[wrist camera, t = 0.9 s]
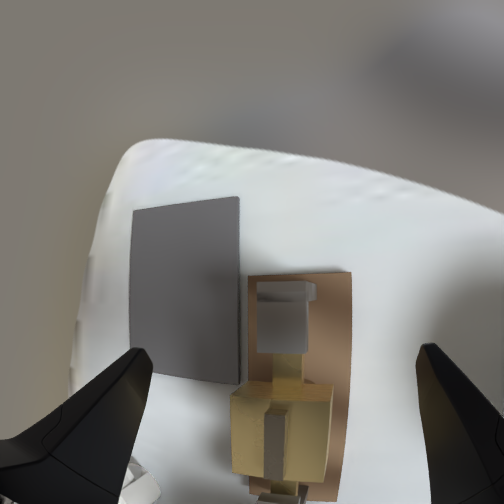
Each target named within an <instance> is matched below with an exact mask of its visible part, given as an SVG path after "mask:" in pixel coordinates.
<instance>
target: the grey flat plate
mask: <svg viewBox="0 0 504 504" xmlns="http://www.w3.org/2000/svg"><path fill="white" fill-rule="evenodd" d="M129 314H130V349H131V348H133V347H140V348H144V349H145V350H146V352H147V354H148V355H149V357H150V359H151V361H152V363H153V373H158V374H164V375H170V376H175V377H182V378H188V379H195V380H202V381H209V382H217V383H226V384H235V385H238V384H240V345H239V197H229V198H221V199H212V200H204V201H197V202H189V203H182V204H175V205H168V206H161V207H155V208H148V209H142V210H135V211H134V213H133V225H132V240H131V258H130V296H129Z"/></svg>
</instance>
